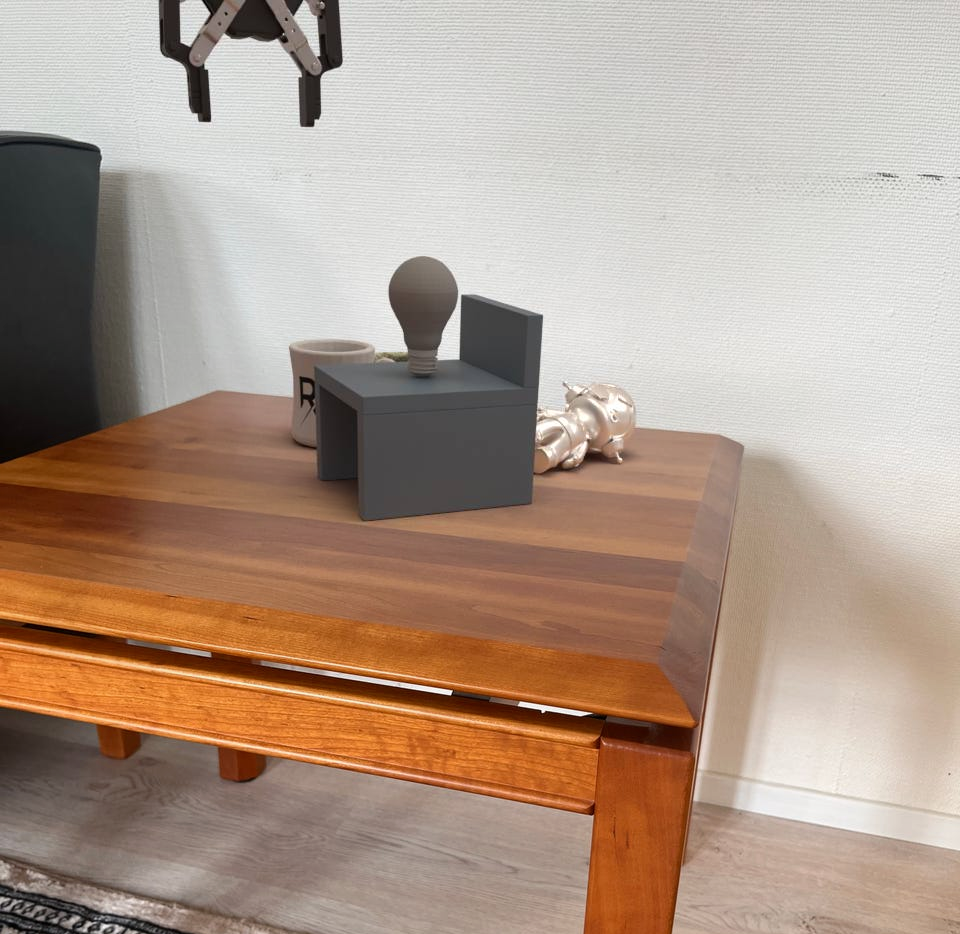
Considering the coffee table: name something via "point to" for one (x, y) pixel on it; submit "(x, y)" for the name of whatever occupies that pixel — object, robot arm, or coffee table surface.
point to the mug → (304, 380)
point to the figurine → (584, 426)
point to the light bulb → (423, 308)
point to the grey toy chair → (438, 421)
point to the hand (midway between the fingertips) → (256, 124)
